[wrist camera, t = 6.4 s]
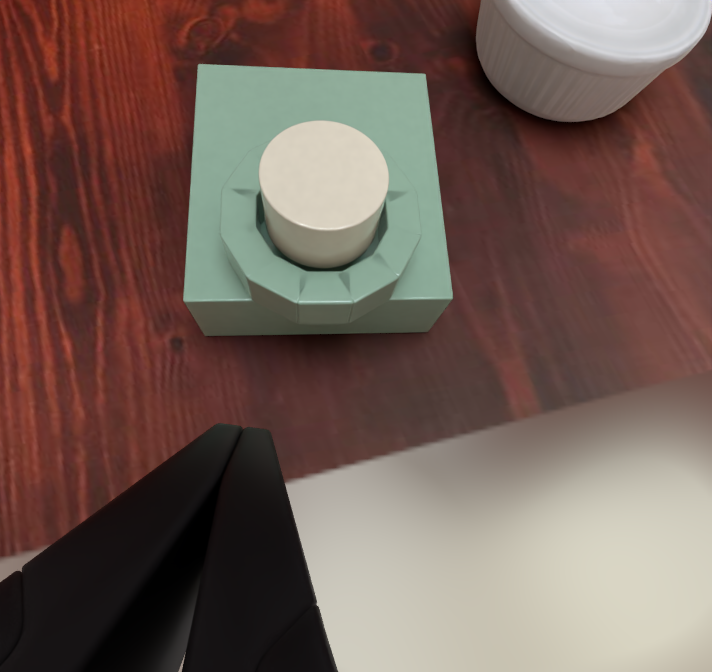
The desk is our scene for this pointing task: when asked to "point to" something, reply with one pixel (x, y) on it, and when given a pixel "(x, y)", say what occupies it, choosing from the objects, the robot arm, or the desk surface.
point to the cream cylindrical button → (322, 192)
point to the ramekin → (583, 50)
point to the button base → (246, 217)
